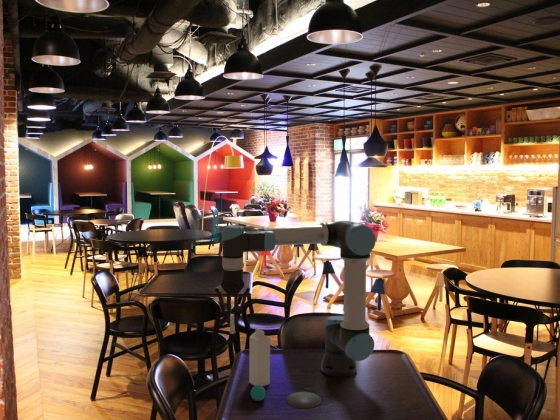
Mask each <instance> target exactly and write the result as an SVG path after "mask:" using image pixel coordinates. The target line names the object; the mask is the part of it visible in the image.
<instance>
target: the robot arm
mask: <svg viewBox="0 0 560 420" xmlns="http://www.w3.org/2000/svg"><path fill="white" fill-rule="evenodd" d="M221 240H222V241H221V242H222V258H221V261H222V262H221V265H222V269H221V270H222V272H221V274H222V275H221V279H222V280H221V283H220V285H219V286H216V287H215V288H214V291H215V293H216V294H217V297H218V302H219V306H220V309H221V313H222V314H223V315H226V324H227V325H229V334H230V335H231V334H233V335H234V334H235V325H237V324H238V322H239V319H238V318H239V317H238V316H239V315H242V314H243V312H244V308H245V305H246V300H247V295H248V294H249V293H250V291H251V287H250V286H247V285H245V282H244V270H243V268H244V253H249V252H250V253H252V252H254V253H255V252H272V251H275V248H276V246H290V245H291V246H292V245H293V246H295V245H312V244H314V245H318V244H320V245H321V246H322V247H326V246H328V247H329V246H330V247H335V248H338V249H339V251H340V253H339V256H340V258H341V259H342V261H343V264H344V265H343V266H344V267H343V315H332V316H329V317H327V318H326V319H325V325H324V327H325V332H324V333H325V339H324V342H325V346H324V347H325V348H324V349H325V350H324V354H323V357H322V360H321V363H320V370H321V372H323V374H325V375H328V376H330V377H331V376H332V377H337V378H338V377H339V378H343V377H344V378H345V377H350V376H354V375H355V374H356V372H357V363H356V362H361V361H365V360H367V359H368V358H369V357H370V356H371V355H372V354H373V352H374V350H375V340H374V338H373V336H372V335H371V334H370V324H369V323H368V321H367V319H366V318H367V317H366V313H367V312H366V311H367V310H366V309H367V306H366V304H367V303H366V302H367V262H368V260H369V259H370V258H371V253H372V251H373V249H375V246H376V235H375V233H374V231H373V230H372V229H371V228H370V227H369V226H368V225H366V224H364V223H360V222H354V221H349V220H338V221H331V222H330V221H329V222H321V223H320V224H317V225H314V224H311V225H283V226H282V225H281V226H280V225H278V226H277V225H276V226H251V225H250V226H249V225H246V226H241V225H227V226H224V227H223V228H222V238H221ZM222 291H224V293H225V294H226V305H225V301H224V297H223V293H222ZM241 291H243V295H242V298H241V304H240V307H239V294H240V293H241ZM232 295H233V300H234V301H233V305H234V306H233V313H231V312H232V307H231V306H232Z"/></svg>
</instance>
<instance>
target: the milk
mask: <svg viewBox="0 0 560 420" xmlns="http://www.w3.org/2000/svg"><path fill="white" fill-rule="evenodd" d="M248 354H249V357H248V358H249V359H248V360H249V361H248V362H249V374H248V375H249V378H248V379H249V380H248V381H249V384H250V385H252V386H253V387H254V386H256V385H260V386H262V387H264V386H265V387H266V386H269V385H270V384H271V382H270V381H271V377H270V376H271V337H269V336H267V335H265V331H264V330H262V329H260V328H258V327H256V328H255V331H254V332H253V333H251V335H250V336H249V353H248Z"/></svg>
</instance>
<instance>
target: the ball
mask: <svg viewBox="0 0 560 420" xmlns="http://www.w3.org/2000/svg"><path fill="white" fill-rule="evenodd" d="M266 394H267V393H266V388H265V387H264V386H260V385H256V386H254V385H253V387H252V388H251V390H250V396H251V399H252V400H254V401H255V402H261V401H262V400H264V399H265V397H266Z"/></svg>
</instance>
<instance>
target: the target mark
mask: <svg viewBox="0 0 560 420" xmlns="http://www.w3.org/2000/svg"><path fill="white" fill-rule="evenodd" d="M286 403H287V404H288V405H289V406H291V407H294V408H296V409H297V408H298V409H313V408H316V407H319V406H320V405H321V403H322V398H321V397H320V395H318V394H316V393H313V392H309V391H296V392H293V393H290V394H289V395H288V396H287V397H286Z"/></svg>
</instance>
